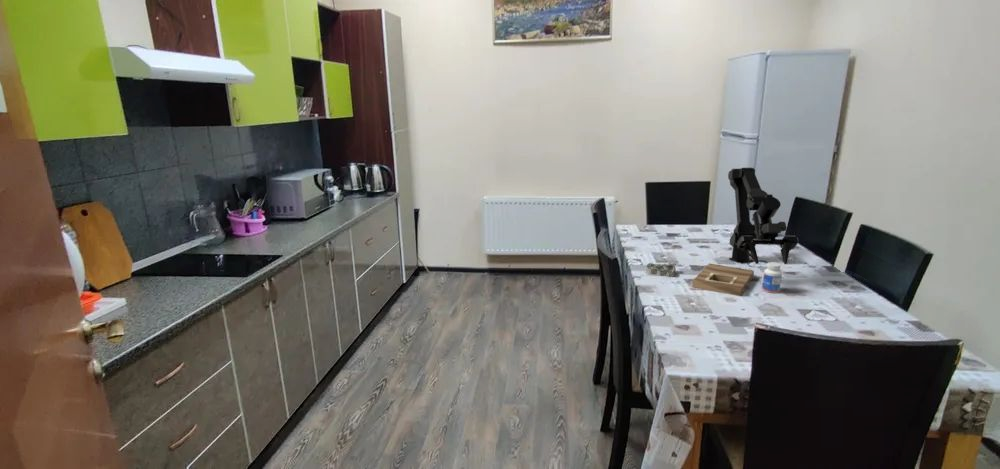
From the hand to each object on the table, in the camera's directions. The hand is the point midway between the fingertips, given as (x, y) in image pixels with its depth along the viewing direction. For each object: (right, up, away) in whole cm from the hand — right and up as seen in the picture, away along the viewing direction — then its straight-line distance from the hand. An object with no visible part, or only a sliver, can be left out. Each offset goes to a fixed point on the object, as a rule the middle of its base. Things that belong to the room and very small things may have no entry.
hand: (771, 263), depth 173 cm
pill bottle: (0, -10, +1) cm, 10 cm away
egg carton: (-32, -5, +21) cm, 39 cm away
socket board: (-12, -7, +10) cm, 17 cm away
